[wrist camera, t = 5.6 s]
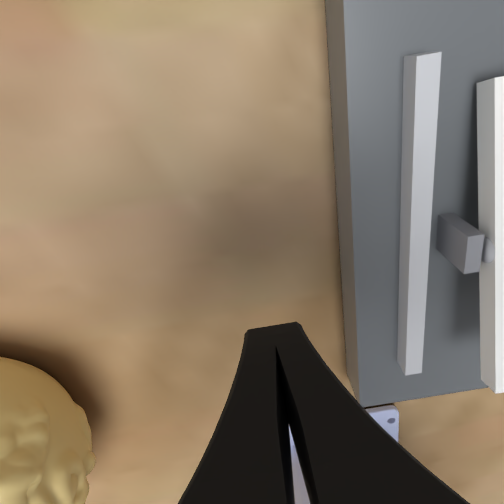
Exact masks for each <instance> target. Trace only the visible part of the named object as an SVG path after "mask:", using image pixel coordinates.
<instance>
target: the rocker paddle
mask: <svg viewBox="0 0 504 504" xmlns="http://www.w3.org/2000/svg"><path fill="white" fill-rule="evenodd" d="M477 151H478V221H479V231H481V232H482V233H484V234H485V235H484V242H483V249H482V257H481V264H480V272H479V291H480V361H481V380H482V381H483V382H484V383H485V384H486V385H487V386H488V387H489V388H490V389H491V390H492V391H493V392H494V393H495V394H496V393H502V392H504V76H502V77H496V78H492V79H489V80H485V81H482V82H478V83H477Z"/></svg>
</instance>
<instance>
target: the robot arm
mask: <svg viewBox="0 0 504 504" xmlns="http://www.w3.org/2000/svg"><path fill="white" fill-rule="evenodd" d="M398 432H399V412H398V410H397V408H396V407H395V406H393V405H388V406H382V407H375V408H369V409H364V408H363V407H362V406H361V405H360V404H359V403H358V402H357V400H356V399H355V398H354V397H353V396H352V395H351V394H350V393H349V391H348V390H347V389H346V388H345V387H344V386H343V384H342V383H341V382H340V381H339V380H338V378H337V377H336V376H335V375H334V373H333V372H332V371H331V370H330V368H329V367H328V366H327V365H326V363H325V362H324V361H323V359H322V358H321V356H320V355H319V354H318V352H317V351H316V349H315V348H314V346H313V345H312V343H311V342H310V340H309V339H308V337H307V335H306V334H305V332H304V330H303V328H302V326H301V325H300V324H299V323H297V322H292V323H286V324H280V325H274V326H268V327H262V328H255V329H249V330H248V331H247V332H246V333H245V337H244V344H243V349H242V353H241V358H240V361H239V365H238V368H237V372H236V375H235V378H234V381H233V384H232V387H231V390H230V393H229V396H228V399H227V401H226V404H225V407H224V409H223V411H222V414H221V416H220V419H219V421H218V424H217V426H216V429H215V431H214V433H213V436H212V438H211V440H210V442H209V445H208V447H207V449H206V451H205V453H204V455H203V457H202V459H201V461H200V463H199V465H198V467H197V469H196V471H195V473H194V475H193V477H192V479H191V481H190V483H189V484H188V486H187V488H186V490H185V492H184V493H183V495H182V497H181V499H180V501H179V502H178V504H470V503H468V502H467V501H466V500H465V499H464V498H462V497H461V496H460V495H459V494H457V493H456V492H455V491H454V490H452V489H451V488H450V487H449V486H448V485H446V484H445V483H444V482H443V481H441V480H440V479H439V478H438V477H436V476H435V475H434V474H433V473H432V472H430V471H429V470H428V469H427V468H426V467H424V466H423V465H422V464H421V463H420V462H419V461H418V460H417V459H415V458H414V457H413V456H412V455H411V454H410V453H409V452H408V451H407V450H405V449H404V448H403V447H402V446H401V445H400V444H399V443H398Z"/></svg>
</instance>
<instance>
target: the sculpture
mask: <svg viewBox="0 0 504 504" xmlns="http://www.w3.org/2000/svg"><path fill="white" fill-rule="evenodd" d="M95 461H96V460H95V455H94V453H93V452H92V436H91V429H90V426H89V424H88V421H87V417H86V414H85V412H84V410H83V408H82V407H80V406H79V405H77V404H76V403H75V402H74V401H73V400H72V398H71V397H70V395H69V394H68V393H67V391H66V390H65V389H64V388H63V387H62V386H61V385H60V384H59V383H58V382H57V381H56V380H55V379H54V378H53V377H51V376H50V375H49V374H47V373H46V372H44V371H42V370H40V369H38V368H36V367H34V366H32V365H29V364H27V363H24V362H21V361H17V360H13V359H9V358H4V357H0V504H85V501H86V498H87V495H88V492H89V484H88V481H87V479H86V475H88V474H89V473H90V472H91V471H92V469H93V468H94V465H95Z"/></svg>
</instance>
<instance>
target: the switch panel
mask: <svg viewBox="0 0 504 504" xmlns="http://www.w3.org/2000/svg"><path fill="white" fill-rule="evenodd" d="M325 11H326V28H327V44H328V61H329V78H330V95H331V112H332V129H333V146H334V162H335V179H336V196H337V213H338V230H339V247H340V263H341V280H342V297H343V314H344V331H345V348H346V365H347V375H348V378H349V381H350V383H351V386H352V388H353V391H354V394H355V396H356V399H357V402H358V403H359V404H360V405H361V406H362V407H369V406H375V405H381V404H387V403H394V402H400V401H406V400H412V399H419V398H425V397H431V396H437V395H443V394H450V393H456V392H462V391H468V390H474V389H481V388H487V387H488V386H487V385H486V384H485V383H484V382H483V381H482V380H481V361H480V291H479V272H480V264H481V257H482V249H483V242H484V235H485V234H484V233H482V232H481V231H479V221H478V151H477V83H478V82H482V81H485V80H489V79H492V78H496V77H502V76H504V0H325Z"/></svg>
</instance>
